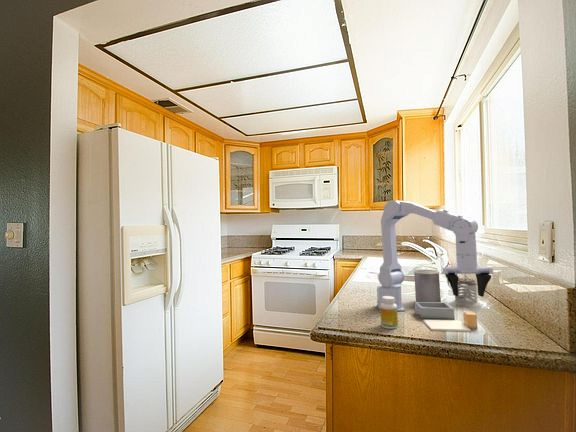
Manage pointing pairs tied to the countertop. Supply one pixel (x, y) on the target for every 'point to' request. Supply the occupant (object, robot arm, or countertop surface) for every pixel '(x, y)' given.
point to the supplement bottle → (389, 313)
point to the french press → (466, 292)
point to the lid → (454, 323)
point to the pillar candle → (427, 286)
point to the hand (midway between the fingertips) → (468, 295)
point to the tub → (434, 310)
